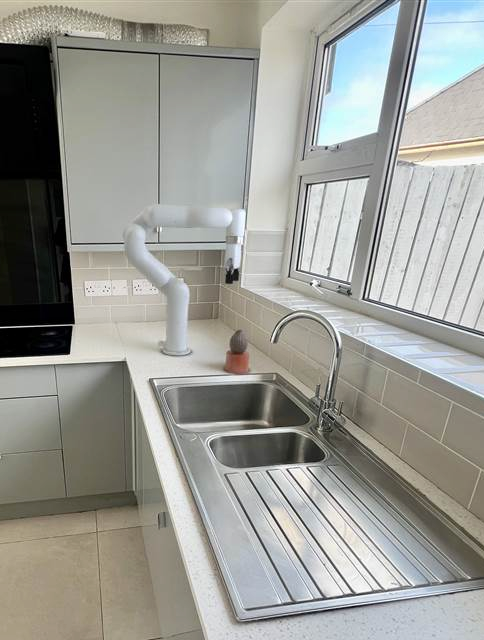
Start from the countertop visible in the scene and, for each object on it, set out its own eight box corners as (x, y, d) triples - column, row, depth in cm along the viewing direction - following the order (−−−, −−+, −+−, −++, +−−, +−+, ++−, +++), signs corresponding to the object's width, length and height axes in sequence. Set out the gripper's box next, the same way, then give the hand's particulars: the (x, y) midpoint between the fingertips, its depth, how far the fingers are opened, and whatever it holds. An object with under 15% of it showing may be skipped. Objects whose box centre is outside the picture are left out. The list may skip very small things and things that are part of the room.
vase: (246, 355, 156) (248, 333, 152) (228, 354, 157) (230, 332, 154) (246, 350, 162) (248, 328, 158) (229, 349, 163) (230, 328, 160)
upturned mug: (245, 374, 157) (246, 357, 154) (222, 371, 160) (223, 354, 157) (251, 365, 167) (253, 348, 164) (230, 362, 170) (231, 345, 167)
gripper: (231, 239, 179) (229, 279, 185) (220, 241, 164) (217, 284, 171) (248, 240, 176) (245, 280, 183) (238, 241, 161) (235, 285, 168)
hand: (232, 282), depth 177 cm, fingers open, 9 cm apart
